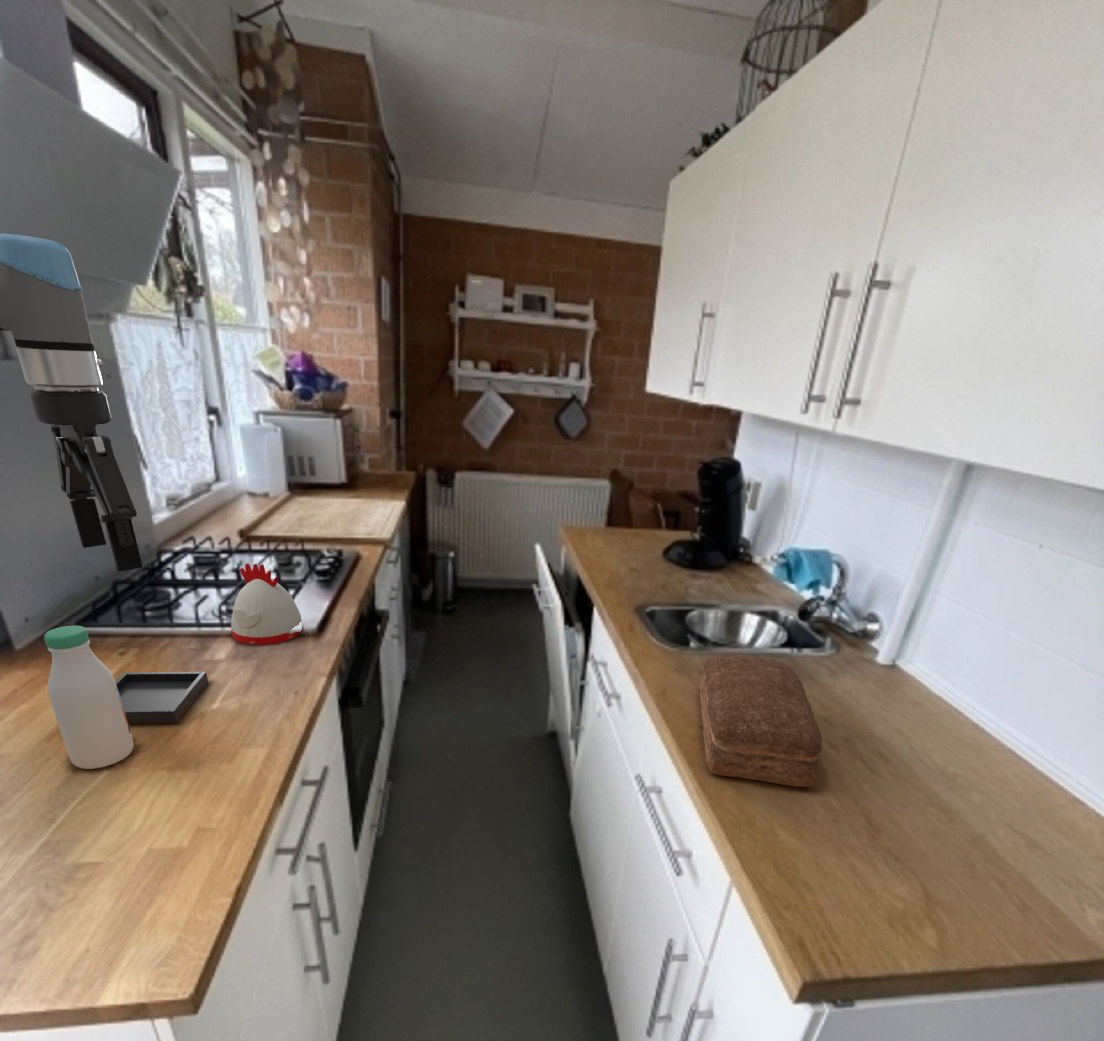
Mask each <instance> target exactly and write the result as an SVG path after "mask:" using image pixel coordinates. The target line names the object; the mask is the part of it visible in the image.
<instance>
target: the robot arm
mask: <svg viewBox="0 0 1104 1041" xmlns="http://www.w3.org/2000/svg"><path fill="white" fill-rule="evenodd" d="M83 292H84V290H83V286H82V285H81V284H80V280H79V277H78V274H77V270H76V267H75V264H74V261H73V256H72V255H71V252H70V251H69V249H68V248H66V246H65V245H63V244H62V243H60V242H57V241H55V240H52V239H47V238H42V237H35V236H30V235H21V234H15V233H14V234H13V233H0V331H4V332H8V331H10V332H11V336H12V338H13V341H14V344H15V350H16V354H17V357H18V361H19V363H20V367H21V370H22V374H23V377H24V381H25V383H27V384H28V385H30V386H33V389H31V390H30V392H29V397H30V401H31V404H32V407H33V410H34V413H35V417H36V420H37V421H39V423H42V424H46V425H50V432H51V434H52V437H53V441H54V447H55V454H56V461H57V468H58V475H59V482H60V489H61V491H62V492H63V493H65V495H66V497H67V498H68V500H69V504H70V507H71V511H72V514H73V518H74V522H75V525H76V529H77V532H78V536H79V540H80V543H81V547H82V548H84V549H86V548H87V549H88V548H93V547H99V546H106V545H107V541H106V537H105V534H104V530H103V526H102V523H104V525H105V529H106V532H107V533H106V534H107V536H108V540H109V543H110V549H111V551H112V556H113V559H114V563H115V568H116V571H118V572H125V571H131V570H136V569H141V568H142V569H143V568H144V566H143V562H142V558H141V554H140V550H139V546H138V541H137V538H136V534H135V529H134V525H133V520H132V519H133V518H135V517H137V516H138V515H137V514H138V513H137V510H136V509H135V504H134V503H133V500H132V497H131V495H130V492H129V490H128V487H127V485H126V483H125V479H124V477H123V475H122V472H121V469H120V467H119V465H118V461H117V459H116V456H115V454H114V451H113V446H112V442H111V441H112V440H111V439H110V437H109V436H108V435H99V433H98V430H97V428H96V426H98V425H105V424H109V423H110V422H111V421H112V413H111V410H110V406H109V402H108V397H107V393H105V392H104V391H103V390H99V388H100V387H102V386H103V384H104V383H103V379H102V374H101V371H100V369H101V368H104V362H103V361H102V360H101V359H98V358H97V353H96V348H95V344H94V341H93V336H92V332H91V327H90V323H89V318H88V314H87V309H86V304H85V300H84V295H83ZM95 498H96V499H97V501H98V503H99V505H100V506H101V509H102V511H103V513H104V514H101V515H100V514H99V511H98V507H97V504H96V500H95Z"/></svg>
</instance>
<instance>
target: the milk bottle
mask: <svg viewBox="0 0 1104 1041" xmlns="http://www.w3.org/2000/svg"><path fill="white" fill-rule="evenodd" d="M43 639H44V642H45V645H46V647H47V651H48V652H50V653H51V668H50V671H49V675H48V680H47V693H48V698H49V701H50V704H51V708H52V711H53V714H54V717H55V720H56V723H57V726H58V729H59V732H60V735H61V738H62V741H63V744H64V746H65V749H66V752H67V755H68V758H69V760H70V762H71V763H72V765H74V766H75V767H77V768H79V769H86V770H94V769H101V768H105V767H109V766H111V765H115V764H117V763H118V762H120V761H123V760H124V759H125V758H127V757H128V756H130V754H132V751H133V750H134V739H133V735H132V732H131V728H130V724H128V721H127V718H126V714H125V711H124V708H123V704H122V701H121V698H120V694H119V691H118V688H117V685H116V682H115V680H116V679H115V678H114V675H113V674H112V672H111V671H110V669H109V668H108V667H107V666H106V665H105V664H104V663H103V662H102V660H100V659H99V658H98V657H97V656H96V655H95V652H93V650H92V649H91V647H90V644H91V640H90V638H89V633H88V630H87V628H86V627H85V626H81V625H65V626H59V627H55V628H53V629H50V630H48V631H46V632H45V634H44V635H43Z"/></svg>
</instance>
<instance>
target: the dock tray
mask: <svg viewBox="0 0 1104 1041" xmlns="http://www.w3.org/2000/svg"><path fill="white" fill-rule="evenodd" d="M114 680H115V682H116V685H117V688H118V691H119V694H120V698H121V701H122V704H123V708H124V711H125V714H126V718H127V721H128V725H158V724H159V725H161V724H163V725H164V724H165V725H167V724H168V725H169V724H178V723H179V721H180V720H181V719H182V717H183V716H184V715H185V714H186V712H187V711H188V710H189V709H190V708H191V706H192V704H193V703H194V702H195V701H196V700H197V698H198V697H199V696H200V694H201V693H202V692H203V691H204V690H205V688H206V686H207V685H208V684H209V678H208V674H207V671H129V672H128V671H127V672H126V671H124V672H123V673H121V674H120V675H119V677H118V678H116V679H114Z"/></svg>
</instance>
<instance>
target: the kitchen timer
mask: <svg viewBox="0 0 1104 1041" xmlns="http://www.w3.org/2000/svg"><path fill="white" fill-rule="evenodd" d="M239 572H240V574H241V576H242V577H243V579H244V581H245V583H246V584H245V585H244V586H243V587H242V588H241V589H240V591H239V593H238V594H237V596H236V598H235V601H234V603H233V610H232V614H231V621H230V629H231V634H232V635H231V636H232V637H233V639H234V640H235V641H237V642H239V643H242V644H246V645H254V646H255V645H256V646H260V645H272V644H278V643H282V642H286V641H289V640H291V639H294V638H296V637H297V636H299V635H300V634H301V633H302V632H295V633H293V634H290V635H289V633H288V632H289V631H290V630H292V628H294V627H295V626H297V625H299V623H300V622H301V621H302V622H303V619H302V620H301V618H302V615H301V612H300V610H299V608H298V606H297V604H296V602H295V600H294V598H293V594H291V593H289V592H288V591H287V589H285V588H284V587H283V586H282V585H281V584H279V583H278V582H279V576H276V577H274V578H273V580H272V570H267V571H266V568H265V565H264V564H263V563H262V564H260V565H258V563H254V564H253V565H252V568H251V565H250V563H249V562H247V563H245V564H244V567H241V568H239ZM232 632H233V633H232Z"/></svg>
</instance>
